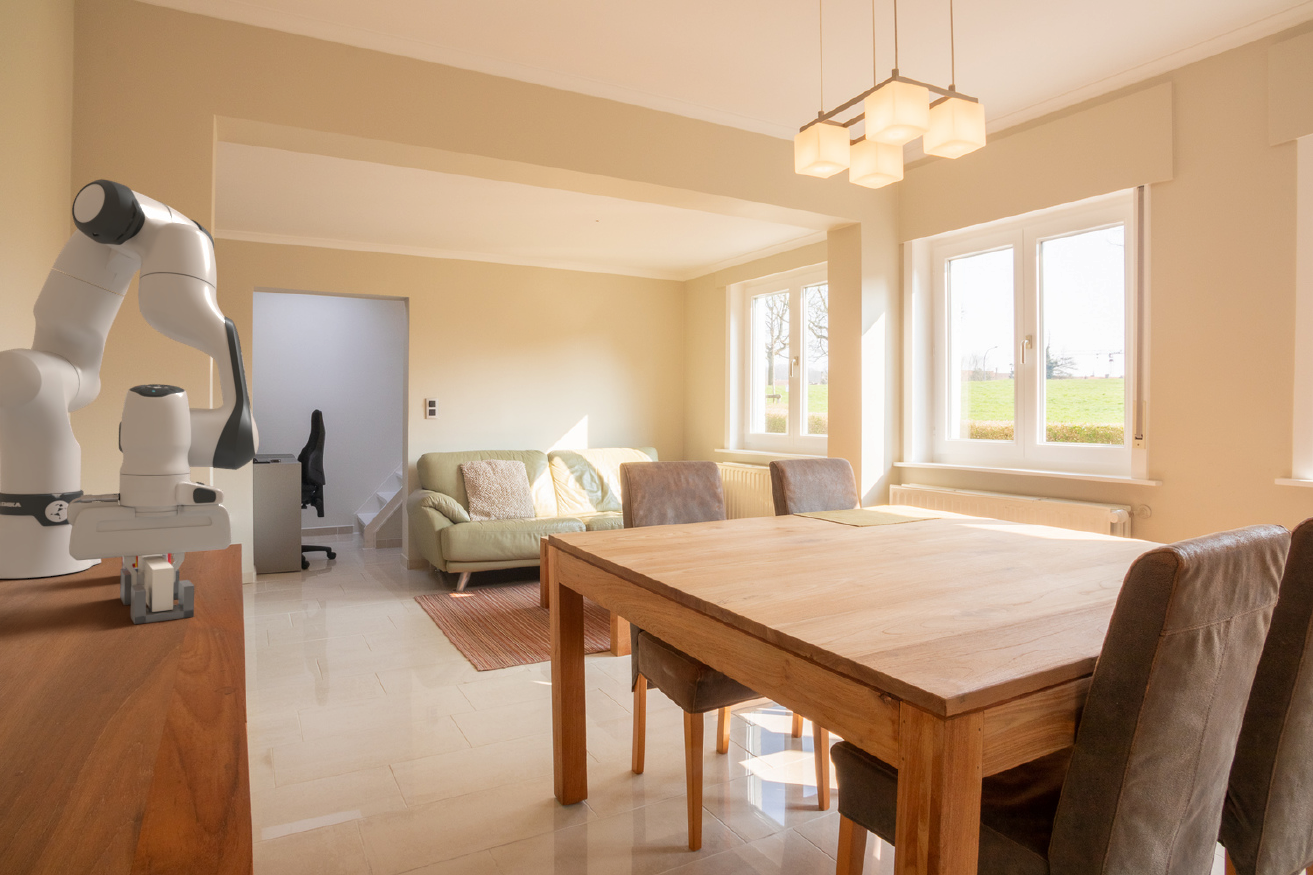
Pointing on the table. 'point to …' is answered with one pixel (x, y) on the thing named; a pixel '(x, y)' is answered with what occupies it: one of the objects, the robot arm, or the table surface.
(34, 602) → the table surface
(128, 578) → the grey block holder
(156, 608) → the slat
